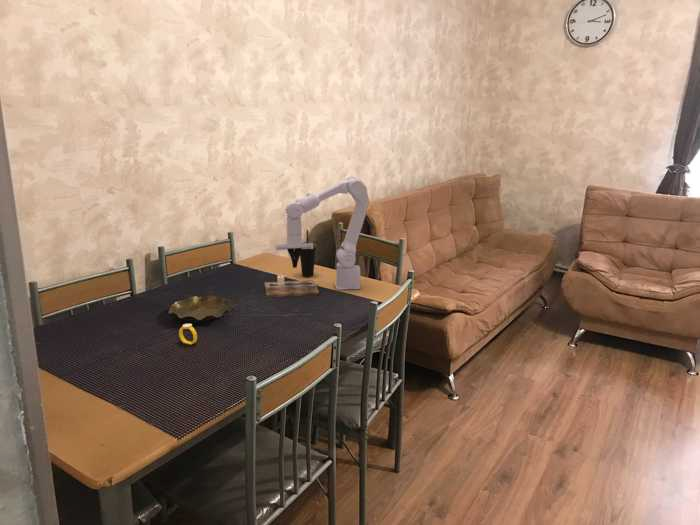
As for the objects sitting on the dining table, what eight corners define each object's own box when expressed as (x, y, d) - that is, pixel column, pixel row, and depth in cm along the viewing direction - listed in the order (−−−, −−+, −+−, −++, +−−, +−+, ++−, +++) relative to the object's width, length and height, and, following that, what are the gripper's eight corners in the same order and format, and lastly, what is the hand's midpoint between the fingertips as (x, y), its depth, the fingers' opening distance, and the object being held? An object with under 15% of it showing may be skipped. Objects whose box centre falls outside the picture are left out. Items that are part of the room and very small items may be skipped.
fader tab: (284, 285, 220) (284, 274, 219) (285, 288, 216) (285, 277, 215) (276, 286, 219) (276, 275, 218) (277, 289, 215) (277, 278, 214)
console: (313, 282, 228) (313, 277, 228) (319, 294, 213) (319, 289, 213) (264, 284, 224) (264, 279, 224) (266, 297, 209) (266, 291, 209)
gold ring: (178, 344, 167) (175, 325, 166) (184, 340, 170) (182, 322, 168) (193, 346, 165) (191, 327, 163) (199, 343, 167) (197, 324, 166)
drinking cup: (296, 274, 239) (295, 229, 234) (312, 272, 242) (312, 228, 237) (302, 279, 233) (302, 232, 227) (319, 277, 236) (319, 231, 230)
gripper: (311, 230, 218) (311, 263, 222) (274, 231, 215) (275, 265, 219) (313, 234, 211) (314, 268, 215) (276, 235, 209) (276, 270, 212)
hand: (294, 267), depth 217 cm, fingers closed
